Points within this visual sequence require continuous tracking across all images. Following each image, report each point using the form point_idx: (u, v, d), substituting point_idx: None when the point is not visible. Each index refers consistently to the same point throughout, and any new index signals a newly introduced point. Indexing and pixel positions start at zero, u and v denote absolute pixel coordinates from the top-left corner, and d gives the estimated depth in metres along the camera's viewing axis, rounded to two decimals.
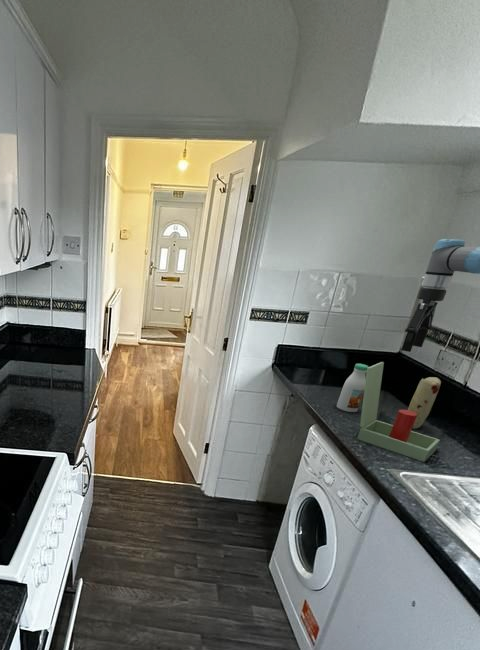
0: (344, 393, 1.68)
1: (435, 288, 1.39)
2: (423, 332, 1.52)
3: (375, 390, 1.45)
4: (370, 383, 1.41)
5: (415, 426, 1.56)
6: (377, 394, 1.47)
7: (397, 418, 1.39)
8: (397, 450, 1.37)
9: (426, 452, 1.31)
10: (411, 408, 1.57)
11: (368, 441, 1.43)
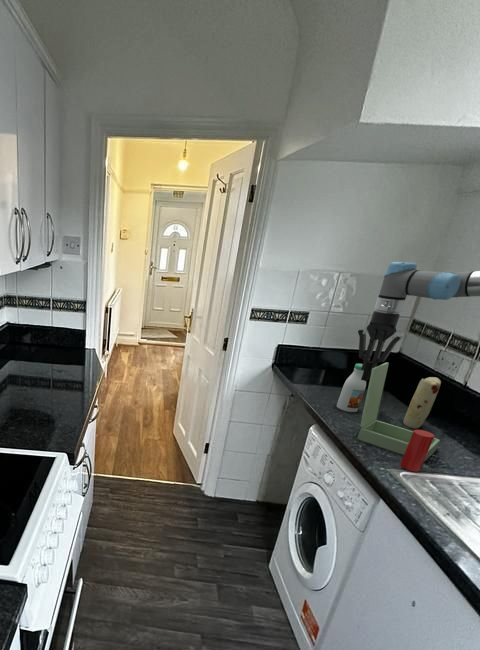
0: (344, 393, 1.68)
1: (398, 312, 1.35)
2: None
3: (378, 390, 1.45)
4: (374, 383, 1.40)
5: (415, 426, 1.56)
6: (379, 395, 1.47)
7: (412, 439, 1.26)
8: (397, 450, 1.37)
9: None
10: (411, 408, 1.57)
11: (368, 441, 1.43)
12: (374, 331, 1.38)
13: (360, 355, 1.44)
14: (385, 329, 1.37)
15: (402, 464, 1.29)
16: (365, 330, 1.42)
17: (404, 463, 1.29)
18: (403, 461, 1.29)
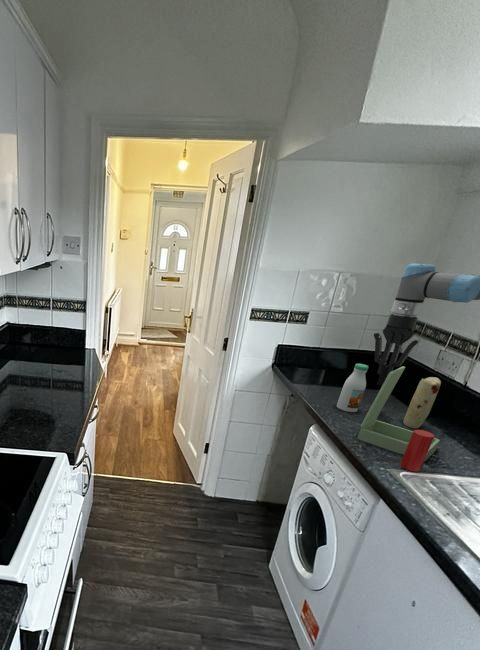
0: (344, 393, 1.68)
1: (416, 315, 1.31)
2: None
3: (387, 393, 1.43)
4: (386, 387, 1.38)
5: (415, 426, 1.56)
6: (386, 397, 1.45)
7: (412, 439, 1.26)
8: (397, 450, 1.37)
9: None
10: (411, 408, 1.57)
11: (368, 441, 1.43)
12: (391, 334, 1.35)
13: (376, 359, 1.40)
14: (402, 332, 1.33)
15: (402, 464, 1.29)
16: (381, 333, 1.38)
17: (404, 463, 1.29)
18: (403, 461, 1.29)
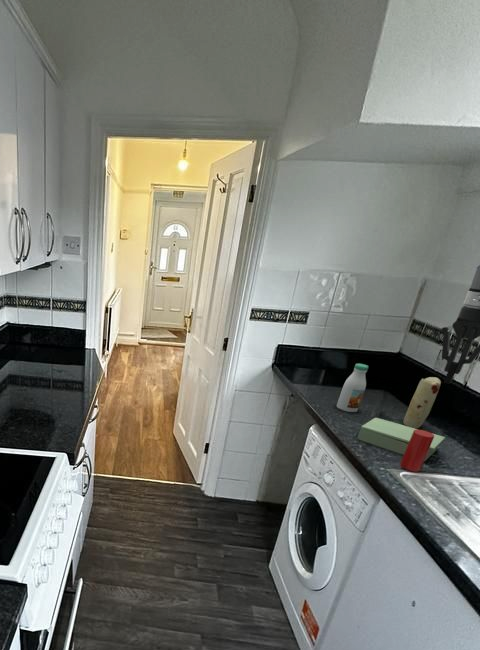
0: (344, 393, 1.68)
1: None
2: None
3: None
4: None
5: (415, 426, 1.56)
6: None
7: (412, 439, 1.26)
8: (397, 450, 1.37)
9: None
10: (411, 408, 1.57)
11: (368, 441, 1.43)
12: (463, 329, 1.25)
13: (443, 355, 1.30)
14: (476, 326, 1.23)
15: (402, 464, 1.29)
16: (450, 328, 1.28)
17: (404, 463, 1.29)
18: (403, 461, 1.29)
